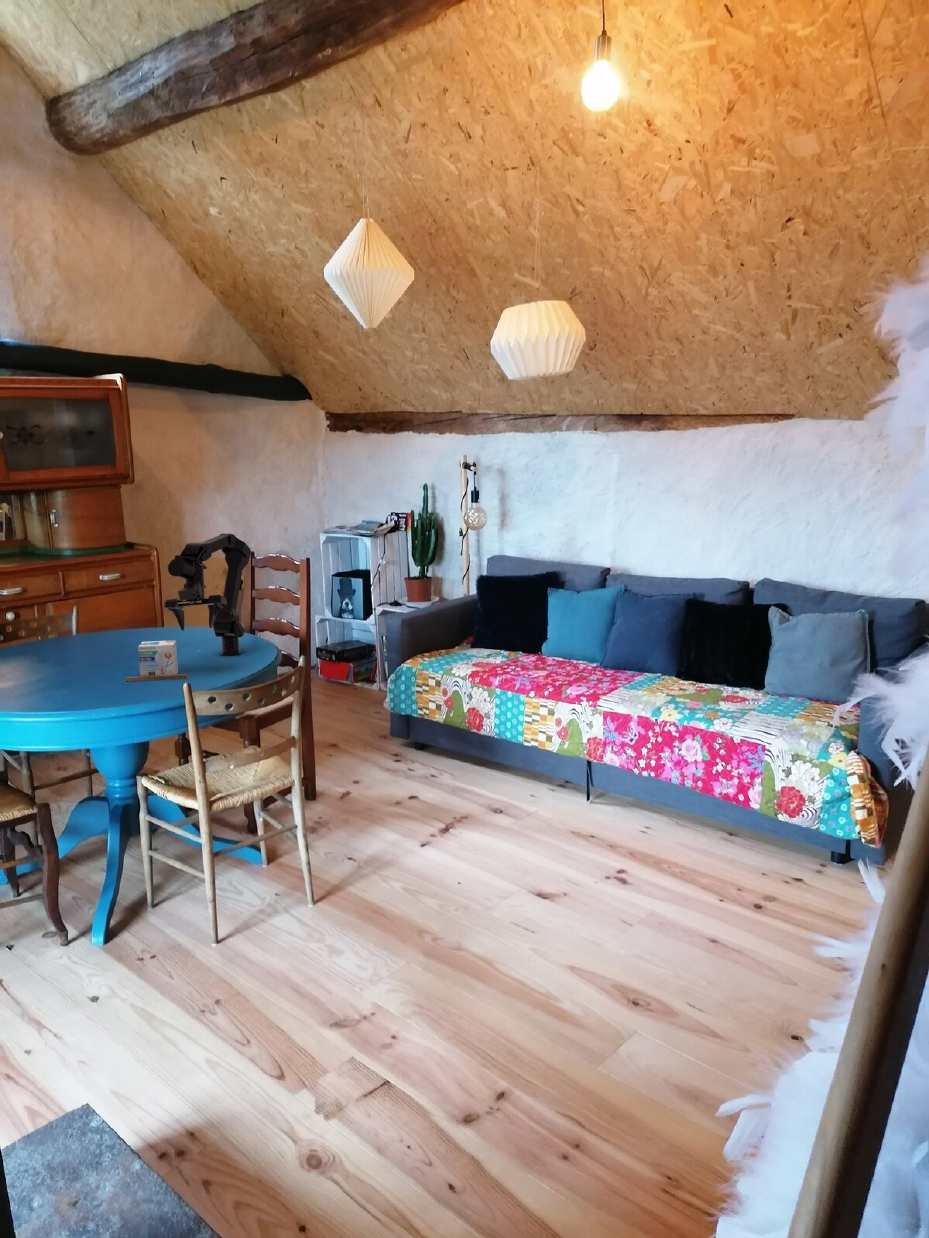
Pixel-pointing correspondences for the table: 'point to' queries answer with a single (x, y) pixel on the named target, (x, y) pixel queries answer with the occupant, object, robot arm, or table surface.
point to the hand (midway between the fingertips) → (196, 629)
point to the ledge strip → (157, 677)
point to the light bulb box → (158, 658)
